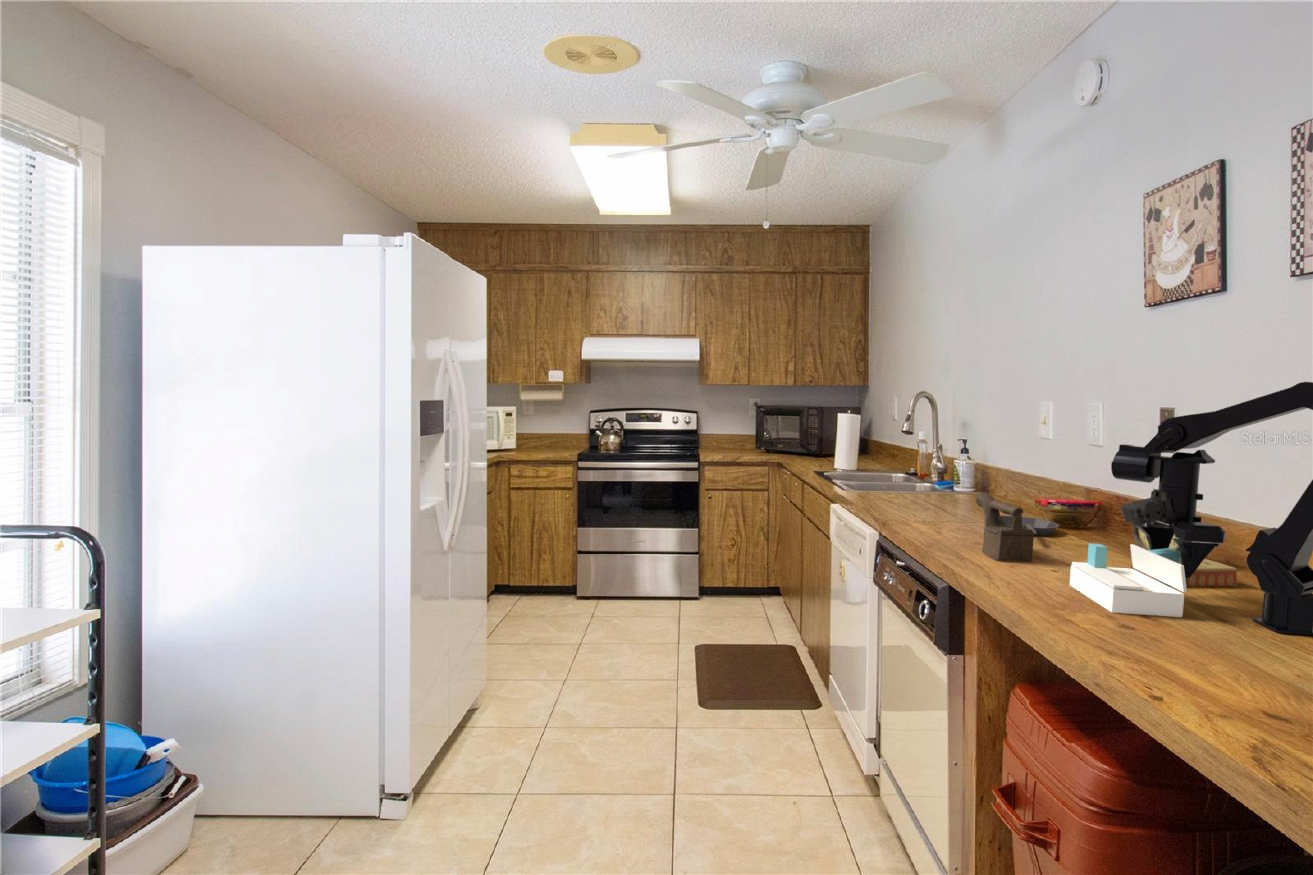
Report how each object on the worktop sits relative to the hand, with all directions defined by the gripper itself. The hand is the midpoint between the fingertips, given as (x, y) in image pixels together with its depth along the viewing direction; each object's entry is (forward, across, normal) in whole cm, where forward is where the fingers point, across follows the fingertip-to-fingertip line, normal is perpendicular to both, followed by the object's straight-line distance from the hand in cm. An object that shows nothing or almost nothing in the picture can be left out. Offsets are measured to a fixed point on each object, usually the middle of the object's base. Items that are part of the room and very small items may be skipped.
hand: (1171, 570), depth 127 cm
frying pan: (+6, -57, -5) cm, 57 cm away
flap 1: (+1, +2, -12) cm, 12 cm away
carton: (+6, -16, +11) cm, 20 cm away
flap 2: (-1, +2, -4) cm, 4 cm away
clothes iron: (+6, -31, -19) cm, 37 cm away
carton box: (+6, +2, -9) cm, 11 cm away
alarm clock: (+6, -35, +17) cm, 39 cm away
